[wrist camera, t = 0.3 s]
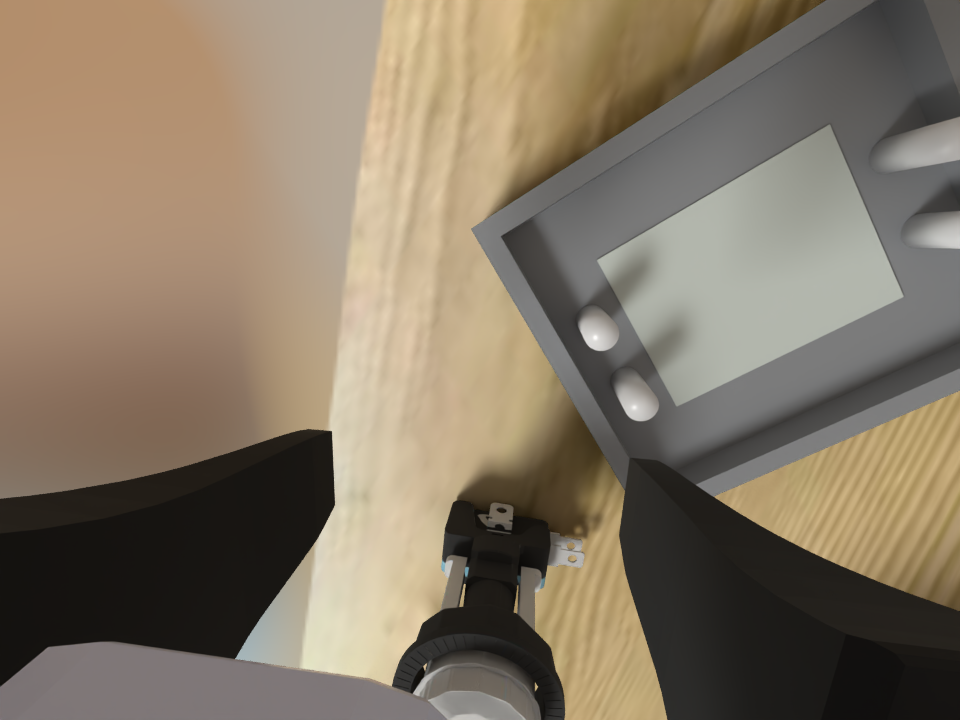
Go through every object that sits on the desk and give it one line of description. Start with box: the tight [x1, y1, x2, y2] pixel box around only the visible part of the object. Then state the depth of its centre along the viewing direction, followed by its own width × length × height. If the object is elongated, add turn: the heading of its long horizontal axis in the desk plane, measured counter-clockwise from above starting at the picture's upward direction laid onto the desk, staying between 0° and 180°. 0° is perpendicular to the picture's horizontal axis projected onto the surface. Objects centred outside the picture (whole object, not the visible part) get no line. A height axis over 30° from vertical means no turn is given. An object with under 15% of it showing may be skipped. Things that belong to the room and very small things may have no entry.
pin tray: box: [471, 0, 960, 496], centre depth 17 cm, size 14×16×4 cm
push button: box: [392, 501, 584, 720], centre depth 18 cm, size 7×5×10 cm
